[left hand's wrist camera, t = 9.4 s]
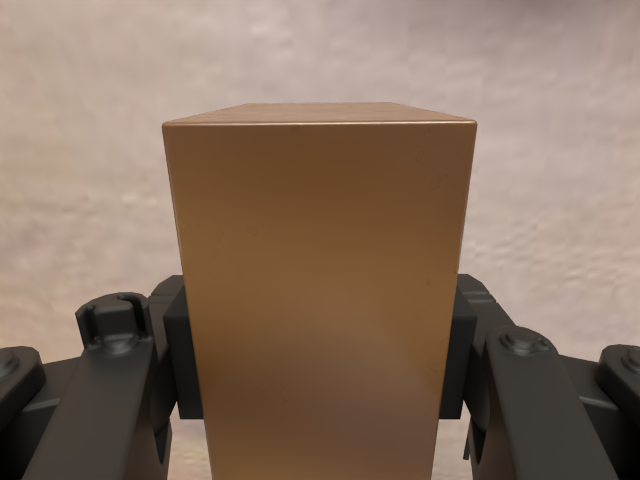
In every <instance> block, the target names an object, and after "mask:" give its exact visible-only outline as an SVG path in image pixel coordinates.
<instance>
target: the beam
mask: <svg viewBox="0 0 640 480" xmlns="http://www.w3.org/2000/svg"><path fill="white" fill-rule="evenodd" d="M476 131H477V122H476V121H474V120H471V119H467V118H462V117H457V116H452V115H448V114H443V113H438V112H433V111H429V110H424V109H419V108H414V107H410V106H405V105H400V104H395V103H391V102H390V103H249V104H244V105H240V106H235V107H231V108H226V109H222V110H217V111H213V112H208V113H204V114H199V115H195V116H190V117H186V118H181V119H176V120H172V121H167V122H165V123H163V124H162V132H163V139H164V146H165V153H166V160H167V167H168V174H169V181H170V188H171V195H172V202H173V209H174V216H175V223H176V230H177V237H178V244H179V250H180V257H181V264H182V271H183V278H184V285H185V292H186V299H187V306H188V313H189V320H190V327H191V334H192V341H193V348H194V355H195V362H196V369H197V376H198V382H199V389H200V396H201V403H202V410H203V417H204V424H205V431H206V438H207V445H208V452H209V459H210V466H211V473H212V480H431V475H432V468H433V460H434V452H435V445H436V437H437V429H438V422H439V414H440V406H441V399H442V391H443V383H444V376H445V368H446V361H447V353H448V345H449V338H450V330H451V322H452V315H453V307H454V299H455V292H456V284H457V276H458V269H459V261H460V254H461V246H462V238H463V231H464V223H465V215H466V208H467V200H468V192H469V185H470V177H471V169H472V162H473V154H474V147H475V139H476Z"/></svg>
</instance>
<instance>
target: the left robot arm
mask: <svg viewBox="0 0 640 480" xmlns="http://www.w3.org/2000/svg"><path fill="white" fill-rule="evenodd" d="M75 315H76V319H77V323H78V326H79V330H80V334H81V338H82V341H83V345H84V350H83V353H82V355H81V356H80V357H76V358H72V359H67V360H62V361H57V362H52V363H47V364H42V361H41V358H40V355H39V352H38V351H37V350H35V349H34V348H32V347H25V346H17V347H7V348H2V349H0V480H167V475H168V466H169V458H170V449H171V440H172V429H171V423H170V418H169V417H170V415H171V413H172V410H173V408H174V406H175V404H176V401H177V404H178V410H179V416H180V419H204V417H203V410H202V403H201V396H200V389H199V382H198V376H197V369H196V362H195V355H194V348H193V341H192V334H191V327H190V320H189V313H188V306H187V299H186V292H185V285H184V278H183V275H173V276H171V277H169V278H168V279H166V280H164V281H163V282H161V283H159V284H158V286H157V287H156V288H155V289H154V291H153V292H152V293H151V296H149V297H148V298H146V297H145V296H143V295H142V294H138V293H133V292H119V293H114V294H109V295H105V296H102V297H99V298H96V299H93V300H91V301H90V302H88V303H86V304H84V305H83V306H81V307H80V308H79V309H78V310H77V311H76V313H75ZM463 400H464V401H465V403H466V405H467V408H468V410H469V412H470V414H471V418H470V423H469V429H468V434H467V439H466V445H465V450H464V456H463V459H464V460H469V455H470V457H471V465H472V474H473V480H640V347H638V346H631V345H621V344H618V345H610V346H607V347H606V348H605V349H603V350H602V353H601V356H600V359H599V362H593V361H587V360H582V359H577V358H572V357H567V356H563V355H559V354H558V352H557V350H556V348H555V347H554V345H553V344H552V343H551V342H550V340H548V339H547V338H545V337H544V336H542V335H541V334H539V333H537V332H535V331H532V330H530V329H528V328H524V327H519V326H516V325H515V324H514V322H513V321H512V320H511V319H510V317H509V316H508V315H507V314H506V312H505V311H504V310H503V309H502V307H501V306H500V305H499V304H498V303H496V300H495V299H494V297H493V296H492V295H491V294H489V291H488V290H487V289H486V287H485V286H484V285H483V284H482V282H480V281H478V280H477V279H475V278H473V277H472V276H470V275H468V274H458V276H457V284H456V292H455V299H454V307H453V315H452V322H451V330H450V338H449V345H448V353H447V361H446V368H445V376H444V383H443V391H442V399H441V406H440V414H439V419H460V417H461V412H462V406H463Z"/></svg>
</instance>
